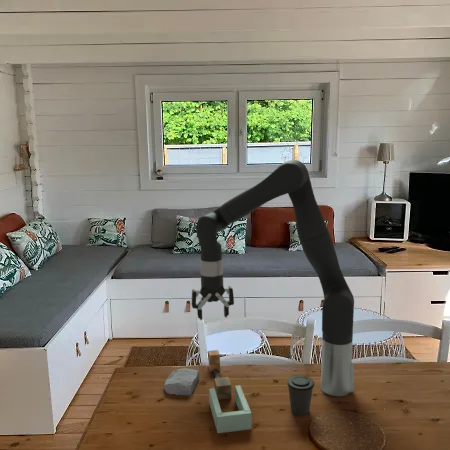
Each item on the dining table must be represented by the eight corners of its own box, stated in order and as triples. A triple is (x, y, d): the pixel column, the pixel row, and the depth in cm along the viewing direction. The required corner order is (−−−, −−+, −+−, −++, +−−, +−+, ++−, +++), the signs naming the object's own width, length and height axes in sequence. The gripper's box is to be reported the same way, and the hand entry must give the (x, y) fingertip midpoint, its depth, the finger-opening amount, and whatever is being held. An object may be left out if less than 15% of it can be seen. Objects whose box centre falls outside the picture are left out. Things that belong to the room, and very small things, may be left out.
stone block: (163, 399, 151) (193, 396, 149) (160, 385, 151) (190, 382, 149) (174, 381, 163) (202, 378, 161) (171, 368, 162) (199, 365, 160)
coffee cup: (315, 405, 144) (316, 375, 142) (311, 420, 136) (312, 389, 134) (289, 400, 146) (289, 370, 144) (283, 415, 139) (284, 384, 137)
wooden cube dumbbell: (219, 365, 169) (219, 349, 167) (231, 398, 148) (231, 380, 147) (207, 366, 168) (206, 351, 167) (217, 399, 147) (216, 382, 146)
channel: (240, 400, 147) (240, 385, 146) (251, 429, 133) (251, 412, 132) (209, 403, 145) (209, 388, 144) (217, 433, 131) (217, 417, 130)
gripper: (230, 267, 164) (231, 312, 168) (189, 270, 162) (191, 315, 165) (234, 273, 157) (235, 320, 160) (191, 277, 155) (193, 324, 158)
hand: (213, 317), depth 163 cm, fingers open, 8 cm apart
